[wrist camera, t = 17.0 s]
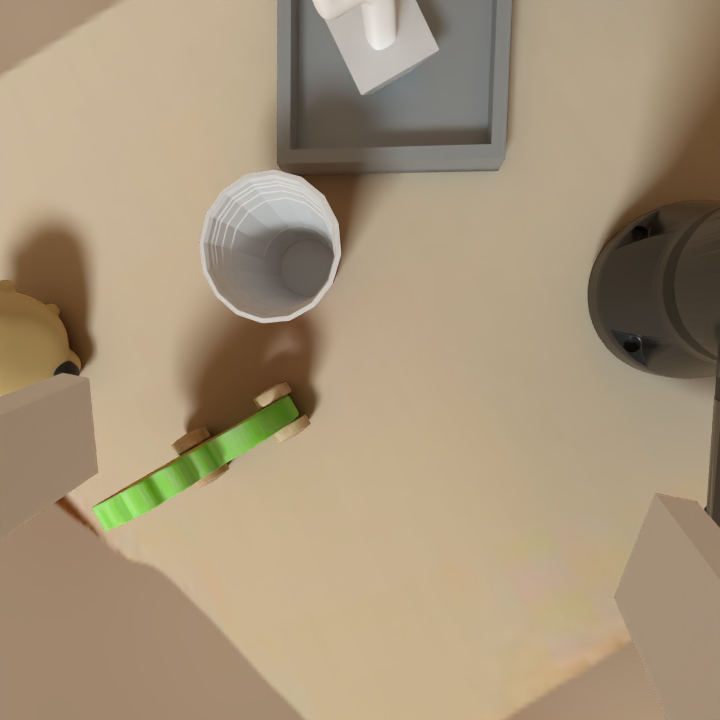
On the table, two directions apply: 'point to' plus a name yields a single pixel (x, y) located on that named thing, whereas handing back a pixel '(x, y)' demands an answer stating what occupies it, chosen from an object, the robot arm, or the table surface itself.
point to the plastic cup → (270, 246)
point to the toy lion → (204, 457)
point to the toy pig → (31, 341)
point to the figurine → (378, 38)
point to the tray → (395, 96)
